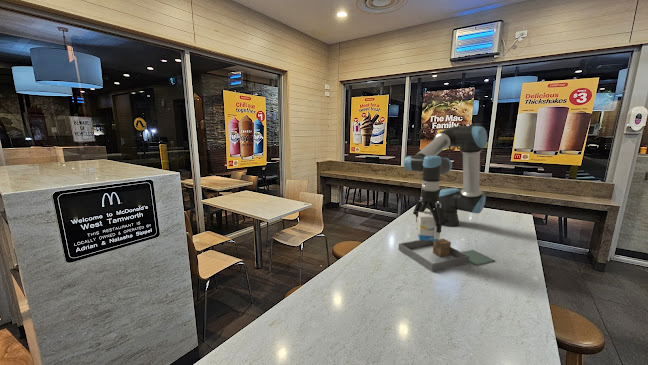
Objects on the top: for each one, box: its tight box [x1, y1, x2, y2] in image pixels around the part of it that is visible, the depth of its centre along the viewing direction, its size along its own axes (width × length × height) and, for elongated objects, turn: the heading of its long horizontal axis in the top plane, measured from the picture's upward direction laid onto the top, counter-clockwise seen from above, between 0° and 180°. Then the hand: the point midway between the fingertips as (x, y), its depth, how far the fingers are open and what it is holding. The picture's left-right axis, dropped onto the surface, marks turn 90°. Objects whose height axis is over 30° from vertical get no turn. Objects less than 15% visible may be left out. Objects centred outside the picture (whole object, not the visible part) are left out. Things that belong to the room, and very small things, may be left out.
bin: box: [398, 239, 470, 273], centre depth 132 cm, size 24×22×4 cm
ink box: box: [416, 210, 439, 241], centre depth 128 cm, size 9×8×12 cm
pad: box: [461, 249, 496, 267], centre depth 131 cm, size 12×12×1 cm
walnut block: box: [432, 238, 452, 258], centre depth 134 cm, size 5×6×7 cm
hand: (427, 233), depth 129 cm, fingers closed on ink box, 11 cm apart
